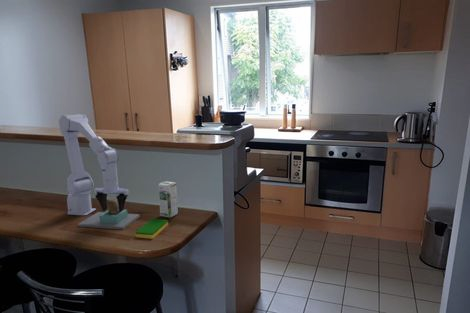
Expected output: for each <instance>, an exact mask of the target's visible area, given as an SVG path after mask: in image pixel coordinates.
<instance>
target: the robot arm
mask: <svg viewBox="0 0 470 313" xmlns="http://www.w3.org/2000/svg"><path fill="white" fill-rule="evenodd" d="M58 125H59V129H60V134H61V135H62V136H63V139H64V143H65V147H66V152H67V157H68V161H69V165H70V167H69V168H70V171H71V173H70V174H69V176H68V177H67V178H66V189H67V192H68V195H67V198H66V204H67V215H70V216H71V215H72V216H73V215H74V216H88V215H90V214H91V213H93V212H94V211H96V210H97V208H92V197H91V193H92V190H94V194H96V195H95V198H96V200H97V201H98V203H99V204H100V207H101V209H102V212H106V211H107V210H108V203H107V201H108V200H107V197H108V194H110V195H117V196H115V197H116V198H115V199H116V200H118V209H119V211H120V212H122V211H123V210H125V209H124V208H125V204H126V200H127V199H128V196H129V194H130V189H128V188H121V187H119V179H118V178H119V177H118V167H117V162H119V159H120V154H119V152H118V150H117V149H116V148H113V147H111V146H109V145H108V144H107V142H106V141H105V140H104V139H103V138H102V137H101V136H97V135H96V134H95V132H94V131H93V129H92V128H91V126H90V124H89V118H87V116H86V114H84V113H77V114H63V115H61V116H60V118H59V120H58ZM79 134H81V135H83V136H84V137H85V139H86V140H88V141H89V143H88V146H89V148H91V150H92V151H93V152H94V153H95V155H96V156H97V158H96V159H97V161H98V163H99V168H100V169H101V175H102V185H103V187H96V188H94V187H95V186H94V185H95V183H94V181H93V179H92V177H91V173H90V172H87V171H85V167H84V162H83V158H82V154H81V150H80V149H81V148H80V144H79V141H78V140H79V139H78V135H79ZM93 188H94V189H93Z"/></svg>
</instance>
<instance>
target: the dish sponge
mask: <svg viewBox="0 0 470 313" xmlns="http://www.w3.org/2000/svg"><path fill="white" fill-rule="evenodd" d="M168 225H169V220H167V219H159V218H152V219H150V220H149V221H147V223H145V224H144V225H142V226H141V227H140V228H139V229H137V230H136V231H135V238H140V239H141V238H142V239H154V238H155V237H156V236H158V235H159V234H160V233H161V232H162V231H163V230H164V229H165V228H166V227H167V226H168Z"/></svg>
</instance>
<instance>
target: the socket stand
mask: <svg viewBox="0 0 470 313" xmlns="http://www.w3.org/2000/svg"><path fill="white" fill-rule="evenodd" d="M118 211H119V208H118ZM140 217H141V216H140V214H138V213H137V214H136V213H128V209H124V210H123V211H122V212H120V211H119V214H117V215H109V213H108V209H106V210H105V211H97V212H95V213H94V214H93V215H91V216H89V217H87V218H85V219H84V220H82V221H80V222H78V224H77V227H80V228H81V227H82V228H83V227H84V228H98V229H110V230H113V229H114V230H125V228H127V227H128V226H129V225H131V224H132V223H134V222H135V221H136V220H138V219H139V218H140Z"/></svg>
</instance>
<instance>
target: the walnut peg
mask: <svg viewBox="0 0 470 313" xmlns="http://www.w3.org/2000/svg"><path fill="white" fill-rule="evenodd" d="M118 209H119V204H118V200H117V198H115V199H109V200H107V210H108V213H109V215H117V214H119V211H118Z"/></svg>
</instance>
